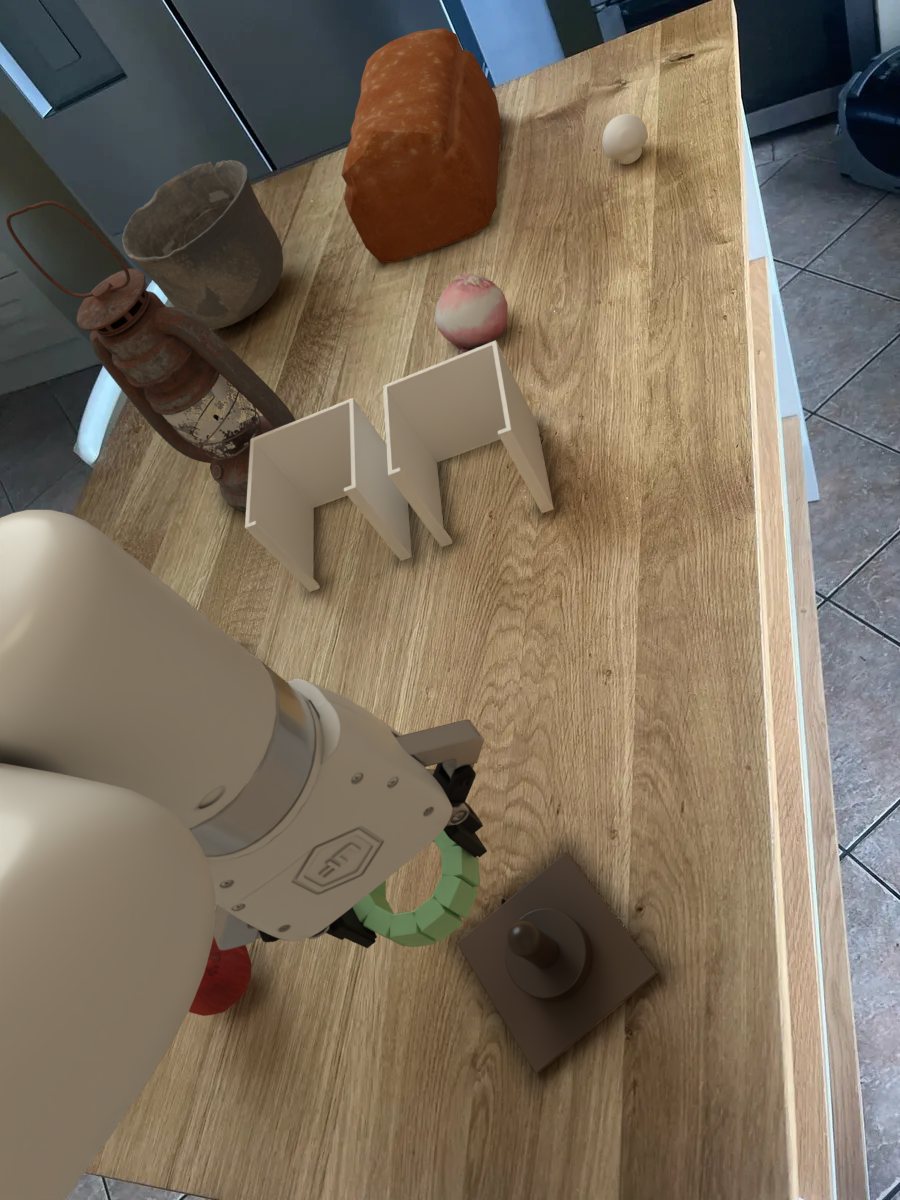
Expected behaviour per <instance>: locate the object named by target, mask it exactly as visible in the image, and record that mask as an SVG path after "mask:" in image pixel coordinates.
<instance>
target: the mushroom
mask: <svg viewBox="0 0 900 1200" xmlns="http://www.w3.org/2000/svg"><path fill="white" fill-rule="evenodd" d="M648 138H649V133H648V128H647V126H646V124H645V122H644V121H643V120H642V118H641V117H640V116H639V117H638V116H637V115H635V114H632V113H621V114H619V115H616V116H614V117H613V118H612V119H611V120H610V121H608V123H607V124H606V126H605V127H604V130H603V134H602V140H601V144H602V145H601V146H602V149H603V153H604V154H605V156H606V157H607V158H608V159H611V160H616V161H617V162H618V163H619V164H621V165H629V164H632V163H634V162H636V161H638V159H639V158H640V157H641V155H642V152H643V146H644V145H645V144H646V142H647V141H648Z"/></svg>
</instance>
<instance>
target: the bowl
mask: <svg viewBox="0 0 900 1200" xmlns="http://www.w3.org/2000/svg"><path fill="white" fill-rule="evenodd" d="M121 237H122V238H121V241H122V246H123V250H124V252H125V254H126V255H127V256H128V257H129V258H130V259H131V260H132V261H134V262H135V263H136V265H138V266H139V267H140V268H141V269H142V271H144V273H145V274H146V275H147V276H148V277H149V278H150V280H151V281H153V283H154V284H155V285H156V286H157V287H158V288H159V289H160V290H161V292H162V293H163V295H164V296H165V297H166V299H167V300H168V301H169V302H170V304H171V305H172V307H175V308H179V309H182V310H184V311H186V312H188V313H190V314H191V315H193V316H194V317H196V318H197V319H198V320H200V321H201V322H202V323H203V324H205V325H206V326H207V327H208V328H209V329H222V328H225V327H229V326H231V325H235V324H236V323H239V322H241V321H243V320H244V319H245V318H247V317H248V316H250V315H253V314H254V313H255V312H257V311H258V310H260V309H261V308H262V307H263V306H264V305H265V304H266V303H267V302H268V301H269V300H270V298H271V297H272V296H273V294H274V293H275V292H276V289H277V288H278V285H279V282H280V280H281V277H282V274H283V271H284V256H283V247H282V244H281V241H280V239H279V237H278V234H277V232H276V231H275V229H274V226H273V224H272V223H271V220H269V218H268V216H267V215H266V213H265V212H264V210H263V208H262V206H261V204H260V201H259V199H258V197H257V195H256V194H255V191H254V188H253V187H252V185H251V181H250V176H249V172H248V168H247V166H246V165H245V164H243V163H242V162H240V161H238V160H236V159H235V160H232V159H227V160H225V159H222V160H221V161H217V162H216V163H215V165H213V163H212V161H208V162H207V163H200V164H196V165H194V166H193V167H190V168H188V169H186V170H185V171H183V172H180V173H179V174H177V175H175V176H173V177H172V178H171V179H169V180H168V181H166V182H165V183H163V184H162V185H161V186H159V187H158V188H157V189H156V190H155V192H154V194H153V196H152V198H151V199H150V200H149V201H148V202H147V203H145V204H144V205H142V207H138V208H137V209H136V210H135V212H133V214H132V215H131V216H130V218H129V220H128V221H127V223H126V225H125V227H124V229H123V233H122V236H121Z"/></svg>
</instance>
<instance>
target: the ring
mask: <svg viewBox="0 0 900 1200" xmlns="http://www.w3.org/2000/svg"><path fill="white" fill-rule="evenodd" d="M432 842H433V843H435V845H436V846H437V848H438V849H439V851H440V852H441V853H440V854H441V857H440V858H441V876H440V878H439V880H438V883H437V884H436V886H435V889H434V891H433V893H432V896H430V897H429V898H427V899H426V900H424V902H422V904H420V905H419V906H418V907H417V908H415V909H414V910H412V911H411V910H410V911H405V912H399V913H395V912H394V910H393V909H392V907H391V906H390V903H389V902H388V900H387V895H386V894H387V890H386V889H387V879H386V880H385V881H384V882H383V883H382V884H380V885H379V886H378V887H377V888H375V889H374V890H373V891H372V892H370V893H369V894H368V895H367V896H365V897H364V898H363V899H362V900H360V901H359V902H358V903H357V904H355V905H354V906H353V909H354V911H355V913H356V915H357V917H358V919H359V921H360V922H362V923H364V924H363V925H364V927H366V928H368V929H370V930H372V931H374V932H375V933H376V934H378V935H379V936H382V937H384V938H385V939H388V940H389V941H391V942H394V943H396V944H398V945H400V946H401V947H409V948H417V947H424V946H431V945H436V943H437V941H438V942H439V943H440V942H443V941H444V940H446V938H447V937H449V936H450V935H452V934H453V933H454V932H455V931H457V930H458V929H459V928H460V927H461V926H463V925H464V922H463V920H462V919H465V920H467V919H468V917H469V916H470V912H471V910H472V908H473V906H474V903H475V901H476V899H477V898H478V897H477V896H478V895H479V891H478V890H477V889H476V888H479V887H480V886H481V882H480V881H481V880H480V863H479V861H480V859H479V857H478V856H477V857H476V858H474V857H473V856H472V855H471V854H469V853H468V852H467V851H465V850H464V849H463V848H461V847H460V846H459V845H457V844H456V843H455V842H453V841H452V840H451V839H450V838H449V837H448V836H447V834H446V833H445V831H444V830H442V832H441V833H440V834H439V835H438V836H437V837H436V838H435V839H434V840H433V841H432Z"/></svg>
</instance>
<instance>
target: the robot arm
mask: <svg viewBox="0 0 900 1200" xmlns="http://www.w3.org/2000/svg"><path fill="white" fill-rule="evenodd" d="M484 743H485V738H484V736H483V735H482V734H481V733H480V730H479V729H478V728H477V727H476V725H475V724H474V723H473V722H472V720H471V719H462V720H458V721H454V722H451V723H446V724H442V725H438V726H433V727H430V728H426V729H422V730H418V731H414V732H410V733H405V734H402V733H400V732H399V731H398V730H396V728H394V727H392V725H390V724H388V723H387V722H386V721H384V720H383V719H381V718H380V717H379V716H377V715H375V714H374V713H373V712H371V711H369V710H368V709H366V708H365V707H363V706H362V705H360V704H358V703H356V702H354V701H353V700H351V699H349V698H347V697H346V696H343V695H342V694H340V693H338V692H336V691H334V690H331V689H329V688H328V687H327V688H326V687H325V686H322V685H319V684H316V683H314V682H311V681H308V680H306V679H302V678H299V677H298V678H297V677H296V678H292V679H290V680H288V681H286V680H285V679H284V678H283V677H281V676H280V675H279V674H278V673H277V672H276V671H274V670H273V669H272V668H270V667H269V666H268V665H267V664H266V663H264V662H263V661H262V660H260V659H259V658H257V657H256V656H255V655H254V654H253V653H252V652H250V651H249V650H248V649H246V648H245V647H244V646H243V645H241V644H240V643H239V642H238V641H236V640H235V639H234V638H233V637H232V636H231V635H229V634H228V633H227V632H225V631H224V630H223V629H222V628H221V627H219V626H218V624H216V623H214V621H212V620H211V619H210V618H209V617H207V616H206V615H205V614H203V613H202V612H201V611H200V610H199V609H197V608H196V607H195V606H194V605H192V604H191V603H190V602H189V601H187V599H185V598H184V597H183V596H181V595H180V594H179V593H178V592H177V591H176V590H174V589H173V588H172V587H171V586H169V585H168V584H167V583H165V581H163V580H162V579H161V578H160V577H158V576H157V575H155V574H154V573H153V572H152V571H151V570H150V569H149V568H147V567H146V566H145V565H144V564H143V563H141V562H140V561H139V560H138V559H136V558H135V557H133V556H132V555H131V554H130V553H129V552H128V551H127V550H126V549H124V548H123V547H121V546H120V545H119V544H118V543H117V542H116V541H114V540H113V539H111V538H110V537H109V536H107V534H105V533H103V532H102V531H101V530H99V529H98V528H97V527H95V526H94V525H93V524H91V523H90V522H88V521H86V520H84V519H81V518H80V517H77V516H75V515H73V514H70V513H65V512H62V511H58V510H55V509H26V510H21V511H16V512H12V513H10V514H9V513H8V514H7V515H4V516H1V517H0V1200H67V1198H69V1195H70V1194H71V1192H72V1191H73V1190H74V1188H75V1187H76V1185H78V1183H79V1182H80V1180H81V1178H82V1177H83V1176H84V1174H85V1173H86V1172H87V1170H88V1169H89V1167H90V1166H91V1165H92V1164H93V1162H94V1160H95V1159H96V1158H97V1157H98V1155H99V1154H100V1153H101V1151H102V1149H104V1147H105V1146H106V1144H107V1143H108V1142H109V1140H110V1139H111V1137H112V1136H113V1135H114V1133H115V1131H116V1130H117V1128H118V1127H119V1125H120V1124H121V1123H122V1121H123V1119H124V1118H125V1117H126V1115H127V1114H128V1112H129V1111H130V1109H131V1108H132V1107H133V1105H134V1103H135V1102H136V1101H137V1099H138V1098H139V1097H140V1095H141V1094H142V1092H143V1091H144V1090H145V1088H146V1086H147V1084H148V1083H149V1081H150V1080H151V1078H152V1077H153V1075H154V1073H155V1071H156V1070H157V1068H158V1067H159V1065H160V1063H161V1062H162V1061H163V1058H164V1057H165V1055H166V1054H167V1052H168V1051H169V1049H170V1048H171V1046H172V1044H173V1042H174V1041H175V1040H174V1039H175V1038H176V1036H177V1034H178V1032H179V1030H180V1028H181V1027H182V1025H183V1023H184V1021H185V1019H186V1017H187V1015H188V1013H189V1009H190V1007H191V1005H192V1002H193V1000H194V998H195V995H196V993H197V990H198V988H199V985H200V983H201V980H202V977H203V975H204V972H205V968H206V965H207V961H208V957H209V953H210V949H211V945H212V941H213V936H214V938H215V941H216V943H217V946H218V948H219V949H220V950H228V949H232V948H236V947H239V946H243V945H245V946H247V945H250V944H251V945H252V944H255V943H256V941H257V940H258V939H261V940H262V942H264V943H275V942H277V941H279V940H282V941H288V942H301V941H304V940H307V939H309V940H314V939H318V938H321V937H322V936H324V935H325V934H327V935H329V936H332V937H334V938H336V939H338V940H341V941H344V939H346V940H348V941H350V942H352V943H354V944H355V945H356V944H357V945H359V946H361V947H363V948H366V949H369V948H370V947H371V946H372V945H374V944H375V943H376V942H377V940H376V939H377V938H378V935H377V933H376V932H374V931H372V930H370V929H368V928H366V927H364V925H363V924H364V923H362V922H360V921H359V919H358V917H357V915H356V913H355V911H354V909H353V906H354V905H355V904H357V903H358V902H359V901H360V900H362V899H363V898H364V897H365V896H367V895H368V894H369V893H370V892H372V891H373V890H374V889H375V888H377V887H378V886H379V885H380V884H382V883H383V882H384V881H385V880H386V881H387V880H388V879H389V878H390V877H392V876H394V874H395V873H396V872H398V871H399V870H400V869H401V868H403V867H404V866H405V865H406V864H407V863H409V862H410V861H411V860H412V859H414V858H415V857H416V856H417V855H418V854H419V853H420V852H422V851H423V850H424V849H425V848H426V847H428V846H429V845H430V844H431V843H432V842H433V840H434V839H435V838H436V837H437V836H438V835H439V834H440V833H441V832H442V830H444V831H445V833H446V834H447V836H448V837H449V838H450V839H451V840H452V841H453V842H455V843H456V844H457V845H459V846H460V847H461V848H463V849H464V850H465V851H467V852H468V853H469V854H471V855H472V856H473V857H474V858H476V857H478V858H481V857H482V856H483V855H485V854H486V853H487V852H488V850H487V848H486V847H485V845H484V844H483V842H482V841H481V839H480V838H479V836H478V834H477V832H478V831H479V830H480V829H482V828H483V827H484V824H483V822H482V821H481V819H480V818H479V817H478V815H477V814H476V812H475V811H474V809H473V808H472V807H471V806H470V804H468V803H467V802H466V801H467V799H468V796H469V795H470V791H471V789H472V786H473V784H474V781H475V779H476V777H477V775H476V774H477V773H476V771H475V770H474V767H475V764H477V763H478V761H479V758H480V755H481V751H482V749H483V746H484ZM434 765H436V766H435V768H428V767H430V766H434Z"/></svg>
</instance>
